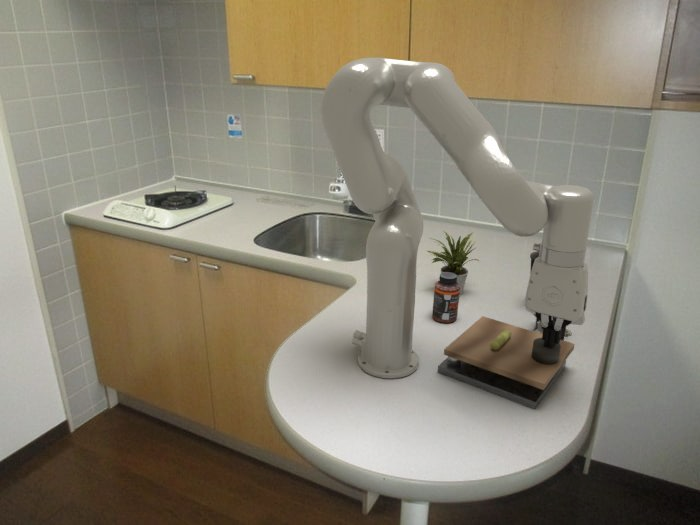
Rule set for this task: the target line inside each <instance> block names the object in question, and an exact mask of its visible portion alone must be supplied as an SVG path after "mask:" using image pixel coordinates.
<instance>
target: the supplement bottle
mask: <svg viewBox="0 0 700 525" xmlns="http://www.w3.org/2000/svg"><path fill="white" fill-rule="evenodd" d="M438 278H439V279H438V280H437V281H436V282H435V284H434V291H433V303H432V318H433V320H435V321H437V322H439V323H443V324H449V323H453V322H455V321H456V320H457V318H458V312H459V310H458V309H459V300H460V295H459V294H460V285H459V284H458V283H457V275H456V274H454V273H451V272H443V273H441V272H440V274H439V277H438Z"/></svg>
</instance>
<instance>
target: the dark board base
mask: <svg viewBox="0 0 700 525" xmlns="http://www.w3.org/2000/svg"><path fill="white" fill-rule="evenodd" d="M446 357H447V358H445V359H444V360H443V361H442V362H440V364H438V366H437V373H438V374H441V375H442V376H443V375H444V376H446V377H448V378H452V379H455V380H457V381H460V382H463V383H465V384H467V385H469V386H472V387H475V388H478V389H480V390H483V391H486V392H488V393H491V394H494V395H497V396H498V397H502V398H504V399H507V400H510V401H512V402H514V403H517V404H520V405H522V406H525V407H527V408H530V409H532V410H533V409H534V410H535V409H536V408H537V406H538V405H539V404H540V403H541V401H542V400H543V399H544V397H545V396H546V394H547V393H548V392H549V390H550V389H551V387H552V386H553V384H555V382H556V381H557V379H558V377H559V376H560V375H561V374H562V373H563V370H564V369H565V368H566V365H567V359H566V360H565V362H564V363H563V364H562V366H561V367H560V368H559V370H558V371H557V372H556V374H555V375H554V376H553V378H552V379H551V381H550V382H549V383H548V385H547V386H546V387H545V389H544V390H542V389H539V388H537V387H534V386H531V385H528V384H525V383H522V382H520V381H517V380H514V379H511V378H508V377H505V376H503V375H500V374H497V373H494V372H491V371H489V370H486V369H483V368H480V367H477V366H474V365H472V364H469V363H466V362H463V361H460V360H458V359H455V358H452V357H449V356H446Z"/></svg>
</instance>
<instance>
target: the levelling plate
mask: <svg viewBox="0 0 700 525" xmlns="http://www.w3.org/2000/svg"><path fill="white" fill-rule="evenodd" d="M534 331H535V330H534ZM534 331H533V330H529V329H526V328H523V327H521V326H516V325H513V324H510V323H507V322H503V321H500V320H496V319H494V318H491V317H486V316H484V315H483V316H481V317H480V318H478V319H477V321H475V322H474V323H473V324H471V326H469V327H468V328H467V329H466V330H464V332H462V333H461V334H460V335H459V336H458V337H456V339H454V340H453V341H452V342H451V343H450V344H449V345H448V346H446V347H445V348H444V349H443V356H446V357H448V356H449V357H452V358H455V359H458V360H460V361H463V362H466V363H469V364H472V365H474V366H477V367H480V368H483V369H486V370H489V371H491V372H494V373H497V374H500V375H503V376H505V377H508V378H511V379H514V380H517V381H520V382H522V383H525V384H528V385H531V386H534V387H537V388H539V389H542V390H544V389H545V387H546V386H547V385H548V383H549V382H550V381H551V379H552V378H553V376H554V375H555V374H556V372H557V371H558V370H559V368H560V367H561V366H562V364H563V363H564V362H565V360H566V361H567V359H568V357H569V356H570V355H571V354H572V352H573V351H574V349H575V343H573V342H571V341H567V340H565V339H564V340H560V342H559V344H556V345H555V346H554V347H553V348H552V349H551V348H549V346H548V347H544V340H542V336H543V334H540V333H537V332H534Z"/></svg>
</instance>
